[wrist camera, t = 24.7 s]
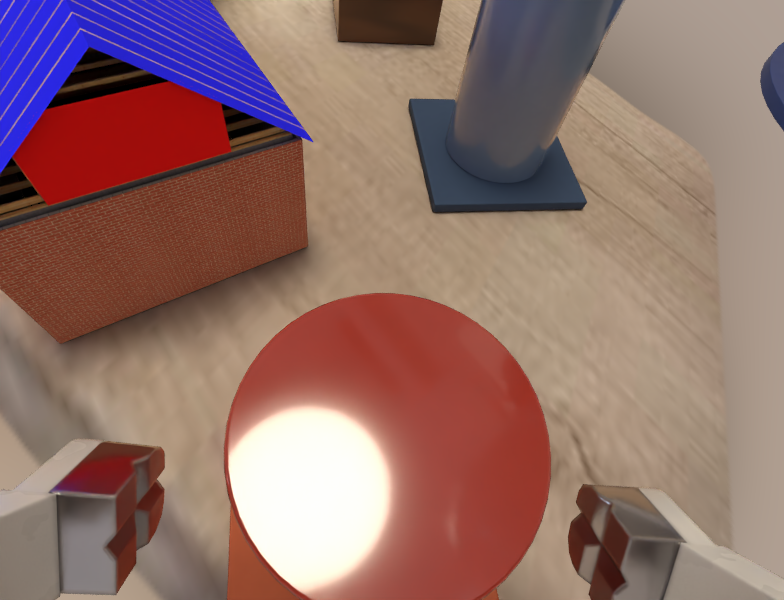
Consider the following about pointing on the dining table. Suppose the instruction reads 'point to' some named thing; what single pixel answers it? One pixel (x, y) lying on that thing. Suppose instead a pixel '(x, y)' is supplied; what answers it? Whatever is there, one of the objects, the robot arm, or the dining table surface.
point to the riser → (387, 20)
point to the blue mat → (471, 193)
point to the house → (137, 159)
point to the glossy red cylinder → (387, 454)
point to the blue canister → (522, 82)
